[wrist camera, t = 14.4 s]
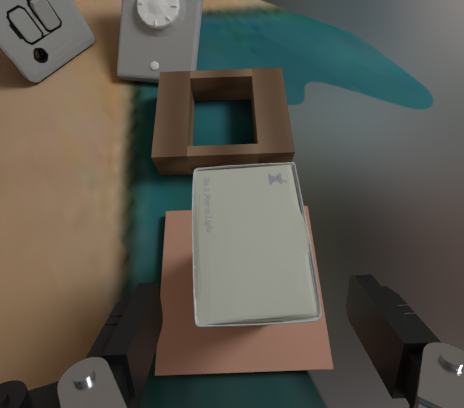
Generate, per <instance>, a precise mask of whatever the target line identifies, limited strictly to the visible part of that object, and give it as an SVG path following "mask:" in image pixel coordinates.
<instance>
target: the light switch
mask: <svg viewBox="0 0 464 408" xmlns="http://www.w3.org/2000/svg"><path fill="white" fill-rule="evenodd" d="M202 4H203V0H122V9H121V22H120V35H119V48H118V61H117V76H118V77H119V78H120V79H122V80H130V81H141V82H153V83H159V76H160V72H174V71H196V66H197V56H198V45H199V35H200V25H201V14H202ZM142 21H143V22H142Z"/></svg>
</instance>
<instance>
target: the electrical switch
mask: <svg viewBox="0 0 464 408" xmlns="http://www.w3.org/2000/svg"><path fill="white" fill-rule="evenodd" d="M94 41H95V36H94V34H93V32H92V31H91V29H90V27H89V26H88V24H87V23H86V21H85V19H84V18H83V16H82V14H81V13H80V11H79V9H78V8H77V6H76V4H75V3H74V1H73V0H0V49H1V50H2V51H3V52H4V53H5V54H6V56H7V57H8V58H9V59H10V60H11V61H12V62H13V63H14V64H15V66H16V67H17V68H18V69H17V70H18V71H19V72H20V73H21V74H22V75H23V76H24V77H25V79H26V80H28V81H30V82H34V83H37V82H40V81H41V80H43V79H44V78H46V77H47V76H48V75H50V74H51V73H53V72H54V71H55V70H57V69H58V68H60V67H61V66H62V65H64V64H65V63H67V62H68V61H69V60H71V59H72V58H74V57H75V56H76V55H78V54H79V53H80V52H82V51H83V50H85V49H86V48H87V47H89V46H90V45H92V44H93V43H94ZM36 50H38V52H39V54H40V57H39V58H38V59H37V58H36V57H35V51H36Z"/></svg>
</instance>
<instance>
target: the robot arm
mask: <svg viewBox="0 0 464 408" xmlns="http://www.w3.org/2000/svg"><path fill="white" fill-rule="evenodd" d="M346 311H347V315H348V319H349V321H350V323H351V325H352V327H353V328H354V330H355V332H356V334H357V336H358V338H359V339H360V341H361V343H362V345H363V347H364V348H365V350H366V352H367V354H368V356H369V357H370V359H371V361H372V363H373V365H374V366H375V368H376V370H377V372H378V374H379V375H380V377H381V379H382V381H383V383H384V384H385V386H386V388H387V390H388V392H389V394H390V395H391V397H392V398H406V399H407V401H408V403H409V405H410V406H409V408H464V352H463V351H462V350H460V349H458V348H456V347H454V346H451V345H448V344H444V343H441V342H440V340H439V339H438V338H437V337H436V336H435V335H434V334H433V333H432V332H431V331H430V329H429V328H428V327H427V326H426V325H425V324H424V322H423V321H421V319H420V318H419V317H418V316H417V315H416V314H414V311H413V310H412V309H411V308H410V307H409V306H407V303H406V302H405V301H404V300H403V299H402V298H401V297H400V296H399V294H397V293H396V292H394V291H393V290H391V289H389V288H388V287H387V286H381V285H380V284H379V283H378V282H377V280H376V279H375V278H374V277H373V276H372V275H371V274H363V275H351V276H350V279H349V286H348V296H347V304H346ZM162 324H163V311H162V305H161V299H160V292H159V286H158V284H157V283H143V284H138V285H137V287H136V289H135V291H134V293H133V295H132V297H124V298H123V299H122V300H121V301H120V302H119V303H117V304H116V305H115V307H114V308H113V310H112V312H111V314H110V316H109V318H108V319H107V321H106V323H105V326H104V327H103V328H102V330H101V332H100V334H99V336H98V337H97V339H96V341H95V343H94V345H93V346H92V348H91V350H90V352H89V354H88V355H87V357H86V359H84V360H81V361H79V362H77V363H76V364H74V365H73V366H71V367H70V368H69V369H68V370H67V371H66V372H65V373H64V374H63V376H62V377H61V379H60V380H59V381H58V382H55V383H52V384H49V385H46V386H43V387H39V388H36V389H33V390H30V391H28V390H27V387H26V385H25V384H24V383H23V382H21V381H8V382H4V383H2V384H0V408H139V405H140V401H141V398H142V394H143V391H144V388H145V384H146V381H147V377H148V374H149V370H150V367H151V364H152V360H153V357H154V353H155V350H156V347H157V343H158V340H159V336H160V333H161V329H162Z"/></svg>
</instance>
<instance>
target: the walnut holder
mask: <svg viewBox="0 0 464 408" xmlns="http://www.w3.org/2000/svg"><path fill="white" fill-rule="evenodd" d="M248 99H251V112H252V124H253V136H254V144H236V145H208V146H193V128H194V101H219V100H248ZM294 153H295V152H294V145H293V139H292V132H291V126H290V119H289V112H288V106H287V99H286V92H285V86H284V79H283V73H282V68H259V69H231V70H202V71H174V72H160V76H159V86H158V96H157V105H156V115H155V125H154V135H153V145H152V155H151V158H152V160H153V162H154V164H155V166H156V168H157V170H158V172H159V174H160V176H162V175H190V174H193V172H194V170H195V169H196V168H204V167H216V166H228V165H246V164H262V163H264V164H266V163H287V162H292V159H293V156H294Z"/></svg>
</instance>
